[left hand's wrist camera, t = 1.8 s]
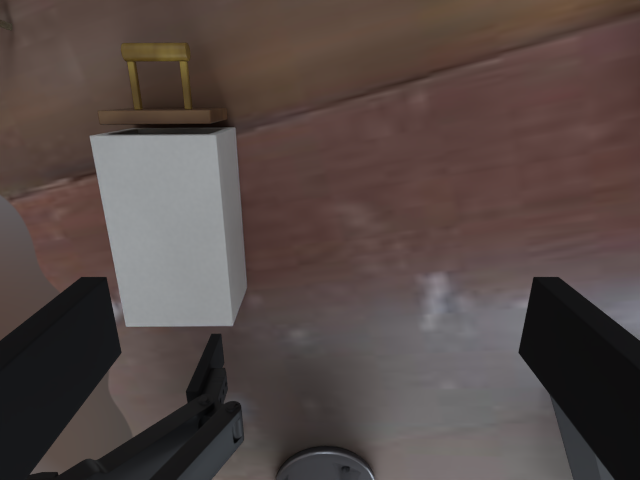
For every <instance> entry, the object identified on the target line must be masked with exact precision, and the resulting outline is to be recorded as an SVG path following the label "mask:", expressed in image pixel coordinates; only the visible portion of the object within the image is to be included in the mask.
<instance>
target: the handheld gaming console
mask: <svg viewBox="0 0 640 480" xmlns="http://www.w3.org/2000/svg"><path fill="white" fill-rule="evenodd" d="M550 396H551V395H550ZM551 400H552V403H553V407H554V411H555V414H556V418H557V421H558V425H559V429H560V432H561V436H562V439H563V443H564V447H565V450H566V454H567V458H568V461H569V465H570V468H571V472H572V476H573V479H574V480H614V478H613V477H612V476H611V474H610V473H609V472H608V470H607V469H606V468H605V467H604V465H603V464H602V463H601V461H600V460H599V459H598V457H597V456H596V455H595V453H594V452H593V451H592V449H591V448H590V447H589V445H588V444H587V443H586V441H585V440H584V439H583V437H582V436H581V435H580V433H579V432H578V431H577V429H576V428H575V427H574V426H573V424H572V423H571V422H570V420H569V419H568V418H567V416H566V415H565V414H564V412H563V411H562V410H561V408H560V407H559V406H558V404H557V403H556V402H555V400H554V399H553V398H552V396H551Z"/></svg>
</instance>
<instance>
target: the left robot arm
mask: <svg viewBox="0 0 640 480" xmlns="http://www.w3.org/2000/svg"><path fill="white" fill-rule="evenodd" d="M120 354H121V348H120V343H119V338H118V333H117V328H116V323H115V318H114V313H113V308H112V303H111V298H110V293H109V288H108V283H107V278H106V277H81V278H80V279H78V280H77V281H76V282H75V283H73V284H72V285H71V286H69V287H68V288H67V289H66V290H64V291H63V292H62V293H61V294H59V295H58V296H57V297H55V298H54V299H53V300H52V301H50V302H49V303H48V304H46V305H45V306H44V307H43V308H41V309H40V310H39V311H38V312H36V313H35V314H34V315H33V316H31V317H30V318H29V319H27V320H26V321H25V322H24V323H22V324H21V325H20V326H19V327H17V328H16V329H15V330H13V331H12V332H11V333H9V334H8V335H7V336H6V337H4V338H3V339H2V340H1V341H0V480H26V478H27V477H28V476H29V474H30V473H31V472H32V470H33V469H34V468H35V467H36V465H37V464H38V463H39V461H40V460H41V459H42V457H43V456H44V455H45V453H46V452H47V451H48V449H49V448H50V447H51V445H52V444H53V443H54V441H55V440H56V439H57V437H58V436H59V435H60V433H61V432H62V431H63V429H64V428H65V427H66V425H67V424H68V423H69V422H70V420H71V419H72V417H73V416H74V415H75V414H76V412H77V411H78V410H79V408H80V407H81V406H82V404H83V403H84V402H85V400H86V399H87V398H88V396H89V395H90V394H91V392H92V391H93V390H94V388H95V387H96V386H97V384H98V383H99V382H100V381H101V379H102V378H103V376H104V375H105V374H106V373H107V371H108V370H109V369H110V367H111V366H112V365H113V363H114V362H115V361H116V359H117V358H118V357H119V355H120ZM519 354H520V355H521V357H522V358H523V359H524V361H525V362H526V363H527V365H528V366H529V367H530V369H531V370H532V371H533V373H534V374H535V375H536V377H537V378H538V379H539V381H540V382H541V383H542V384H543V386H544V387H545V388H546V390H547V391H548V392H549V394H550V395H551V396H552V398H553V399H554V400H555V402H556V403H557V404H558V406H559V407H560V408H561V410H562V411H563V412H564V414H565V415H566V416H567V418H568V419H569V420H570V422H571V423H572V424H573V426H574V427H575V428H576V429H577V431H578V432H579V433H580V435H581V436H582V437H583V439H584V440H585V441H586V443H587V444H588V445H589V447H590V448H591V449H592V451H593V452H594V453H595V455H596V456H597V457H598V459H599V460H600V461H601V463H602V464H603V465H604V467H605V468H606V469H607V470H608V472H609V473H610V474H611V476H612V477H613V478H614V480H640V341H639V340H638V339H637V338H636V337H634V336H633V335H632V334H631V333H629V332H628V331H627V330H625V329H624V328H623V327H622V326H620V325H619V324H618V323H616V322H615V321H614V320H613V319H611V318H610V317H609V316H608V315H606V314H605V313H604V312H602V311H601V310H600V309H599V308H597V307H596V306H595V305H594V304H592V303H591V302H590V301H588V300H587V299H586V298H585V297H583V296H582V295H581V294H579V293H578V292H577V291H576V290H574V289H573V288H572V287H571V286H569V285H568V284H567V283H565V282H564V281H563V280H562V279H560V278H559V277H534V278H533V283H532V288H531V293H530V298H529V303H528V308H527V313H526V318H525V323H524V328H523V333H522V338H521V343H520V348H519Z"/></svg>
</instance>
